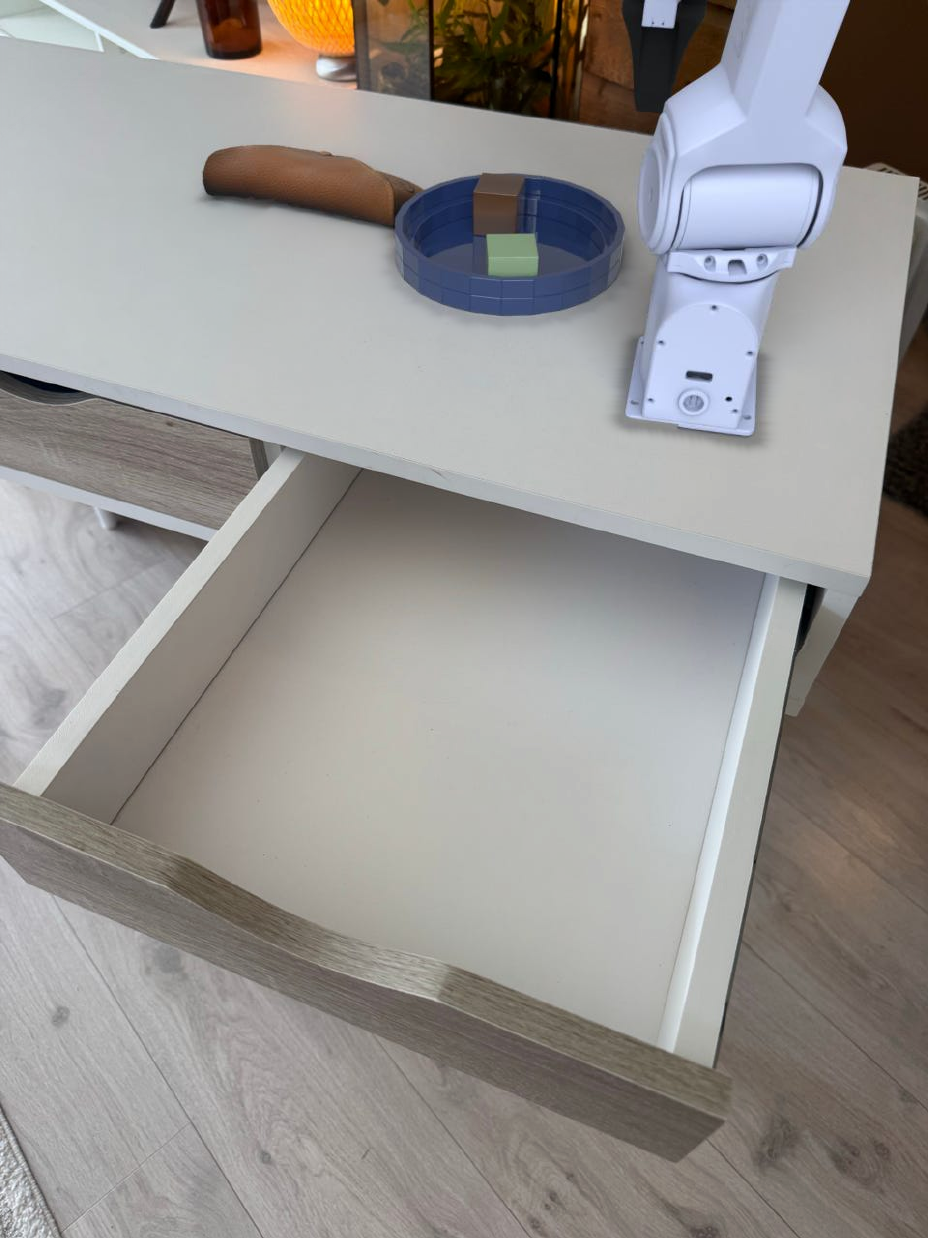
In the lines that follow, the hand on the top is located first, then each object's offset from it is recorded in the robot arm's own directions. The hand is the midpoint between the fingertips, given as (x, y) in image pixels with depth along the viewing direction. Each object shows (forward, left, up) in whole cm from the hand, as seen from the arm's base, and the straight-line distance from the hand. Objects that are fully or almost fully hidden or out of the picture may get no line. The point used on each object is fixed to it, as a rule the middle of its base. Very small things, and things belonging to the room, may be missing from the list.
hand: (650, 108), depth 69 cm
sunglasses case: (0, +27, -10) cm, 28 cm away
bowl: (-7, +9, -9) cm, 15 cm away
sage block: (-12, +8, -9) cm, 17 cm away
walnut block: (-3, +11, -9) cm, 14 cm away
